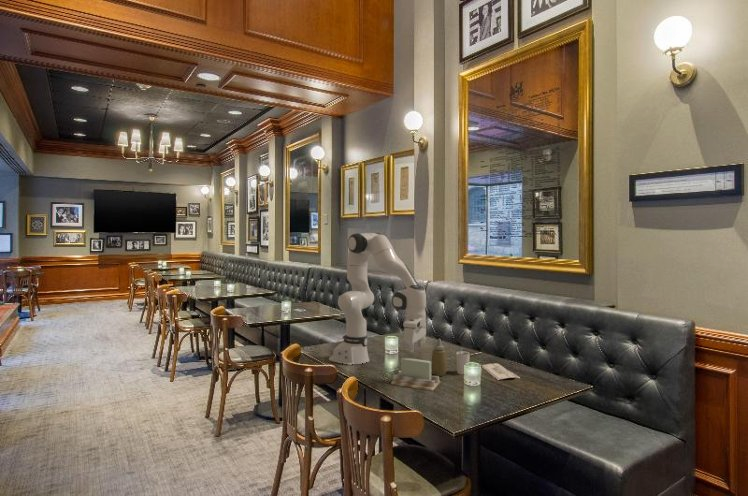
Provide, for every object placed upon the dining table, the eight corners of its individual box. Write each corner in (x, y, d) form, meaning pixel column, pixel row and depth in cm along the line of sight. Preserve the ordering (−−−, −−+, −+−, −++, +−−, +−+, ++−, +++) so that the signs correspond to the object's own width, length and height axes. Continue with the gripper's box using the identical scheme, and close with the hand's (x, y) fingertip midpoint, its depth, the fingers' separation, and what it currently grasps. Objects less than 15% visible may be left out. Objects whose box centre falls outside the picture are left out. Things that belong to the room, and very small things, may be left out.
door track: (391, 384, 206) (391, 376, 206) (400, 376, 217) (400, 369, 217) (432, 390, 197) (432, 383, 197) (440, 382, 208) (440, 375, 208)
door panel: (400, 380, 209) (401, 359, 208) (403, 378, 211) (403, 357, 211) (429, 384, 203) (429, 362, 202) (431, 382, 205) (431, 361, 205)
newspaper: (522, 380, 213) (521, 375, 213) (498, 384, 211) (497, 379, 211) (502, 366, 235) (501, 361, 235) (480, 369, 234) (479, 364, 234)
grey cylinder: (463, 375, 218) (463, 355, 218) (453, 372, 224) (453, 352, 223) (472, 373, 222) (472, 353, 222) (462, 369, 227) (462, 350, 227)
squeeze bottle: (449, 373, 221) (449, 338, 221) (443, 378, 214) (443, 341, 214) (434, 371, 225) (434, 336, 225) (428, 375, 218) (428, 339, 218)
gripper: (417, 315, 217) (416, 343, 217) (401, 323, 198) (401, 354, 199) (429, 317, 214) (429, 345, 215) (415, 325, 196) (414, 356, 196)
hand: (415, 349), depth 207 cm, fingers open, 8 cm apart
